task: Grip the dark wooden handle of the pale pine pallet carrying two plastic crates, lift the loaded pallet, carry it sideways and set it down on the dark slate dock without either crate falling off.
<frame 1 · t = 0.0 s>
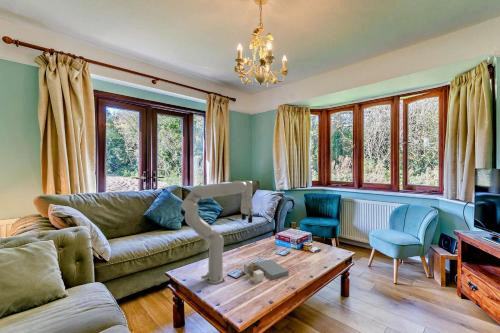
hand: (246, 221, 167), 37 cm above the table, tool pointing down, fingers open, 9 cm apart
dock: (271, 272, 166), on the table
crate B: (248, 271, 164), point 1 cm above the table, touching pallet
pallet: (253, 278, 159), on the table, touching crate B
crate A: (258, 279, 153), point 1 cm above the table
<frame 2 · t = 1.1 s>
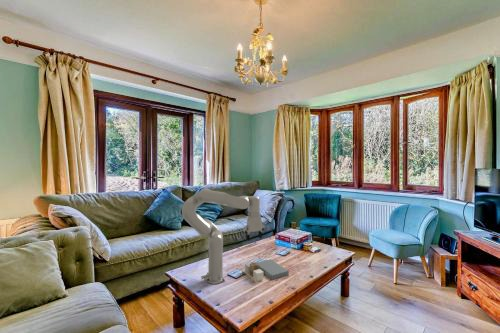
hand: (254, 238, 158), 27 cm above the table, tool pointing down, fingers open, 9 cm apart
crate B: (249, 271, 164), point 1 cm above the table, touching pallet
crate A: (258, 278, 154), point 1 cm above the table
everything else where it was.
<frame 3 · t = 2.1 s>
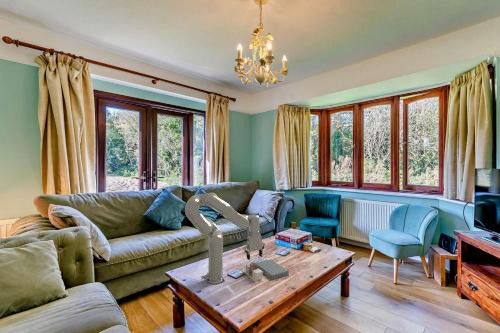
hand: (254, 257, 158), 13 cm above the table, tool pointing down, fingers open, 9 cm apart
pallet: (253, 278, 159), on the table, touching crate A, crate B
crate A: (257, 278, 154), point 1 cm above the table, touching pallet
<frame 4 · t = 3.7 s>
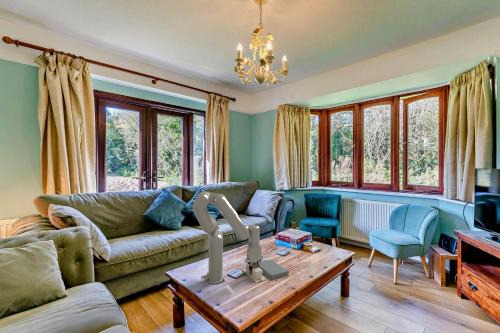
hand: (254, 269, 159), 5 cm above the table, tool pointing down, fingers closed on pallet, 4 cm apart
pallet: (253, 276, 159), on the table, touching crate A, crate B, gripper
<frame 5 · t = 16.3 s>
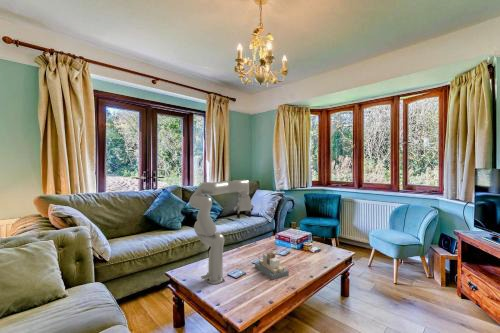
hand: (243, 217, 179), 36 cm above the table, tool pointing down, fingers open, 9 cm apart
crate B: (267, 261, 170), point 6 cm above the table, touching pallet
pallet: (271, 266, 166), point 4 cm above the table, touching crate A, crate B, dock
crate A: (274, 266, 162), point 6 cm above the table, touching pallet
at the end: pallet inside the target area on the dock (0.3 cm from its centre), point 4.0 cm above the dock's base; crate A inside the target area on the pallet (4.5 cm from its centre), point 2.0 cm above the pallet's base; crate B inside the target area on the pallet (4.5 cm from its centre), point 2.0 cm above the pallet's base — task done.
